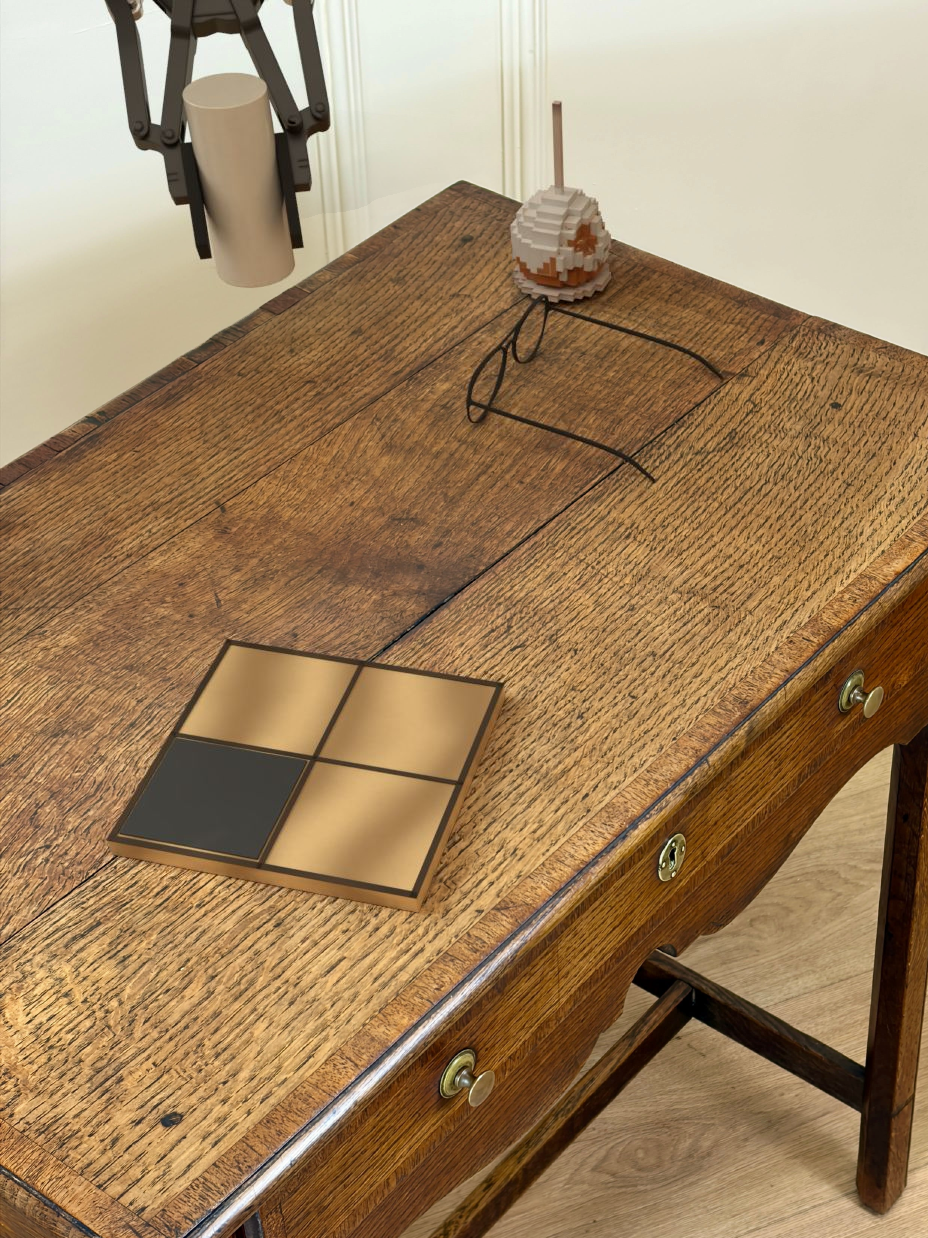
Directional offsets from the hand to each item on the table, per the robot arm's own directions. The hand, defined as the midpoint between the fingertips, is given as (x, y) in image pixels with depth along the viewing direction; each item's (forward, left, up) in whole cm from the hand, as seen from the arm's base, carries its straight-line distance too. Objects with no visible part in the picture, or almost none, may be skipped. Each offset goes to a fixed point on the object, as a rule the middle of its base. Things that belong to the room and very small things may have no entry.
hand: (250, 246), depth 101 cm
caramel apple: (+13, +29, -17) cm, 36 cm away
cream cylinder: (-2, +3, -4) cm, 5 cm away
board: (+13, -28, -17) cm, 35 cm away
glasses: (+20, +12, -17) cm, 29 cm away
